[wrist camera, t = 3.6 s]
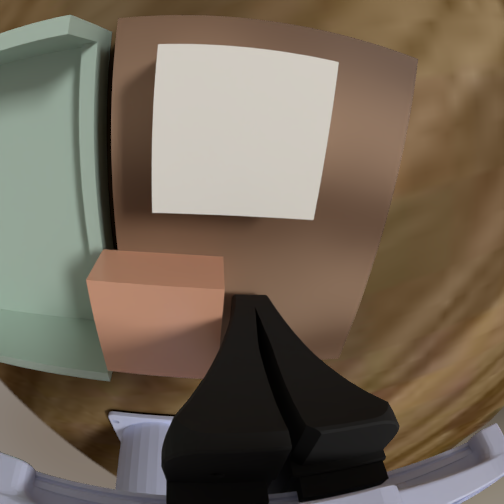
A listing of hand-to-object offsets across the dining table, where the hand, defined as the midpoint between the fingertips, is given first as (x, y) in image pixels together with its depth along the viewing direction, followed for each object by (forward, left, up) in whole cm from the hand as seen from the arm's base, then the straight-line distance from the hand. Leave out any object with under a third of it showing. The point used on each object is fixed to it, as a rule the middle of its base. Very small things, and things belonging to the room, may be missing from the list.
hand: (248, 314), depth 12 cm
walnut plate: (+4, 0, -3) cm, 5 cm away
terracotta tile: (0, +3, 0) cm, 3 cm away
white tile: (+7, +1, 0) cm, 7 cm away
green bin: (+4, +11, -3) cm, 12 cm away
